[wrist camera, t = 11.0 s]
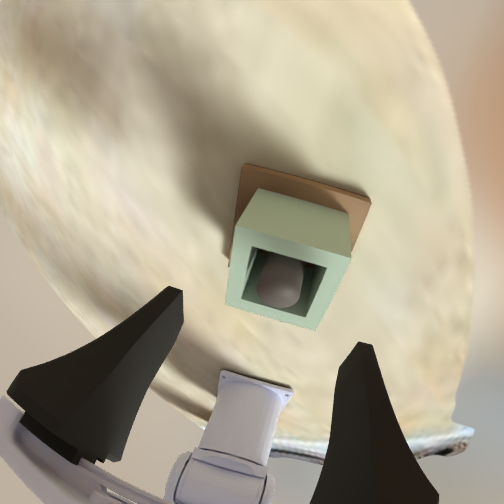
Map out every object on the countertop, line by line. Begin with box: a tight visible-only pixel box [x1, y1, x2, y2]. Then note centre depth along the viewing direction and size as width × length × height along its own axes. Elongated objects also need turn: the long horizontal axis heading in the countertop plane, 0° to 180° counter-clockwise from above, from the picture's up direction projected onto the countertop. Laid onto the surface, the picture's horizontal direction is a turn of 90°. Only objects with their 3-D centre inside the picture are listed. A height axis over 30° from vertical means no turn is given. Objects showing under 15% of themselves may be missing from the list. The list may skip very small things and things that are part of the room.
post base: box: [228, 164, 371, 308], centre depth 15 cm, size 7×7×5 cm
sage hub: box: [225, 188, 351, 331], centre depth 15 cm, size 5×5×4 cm
